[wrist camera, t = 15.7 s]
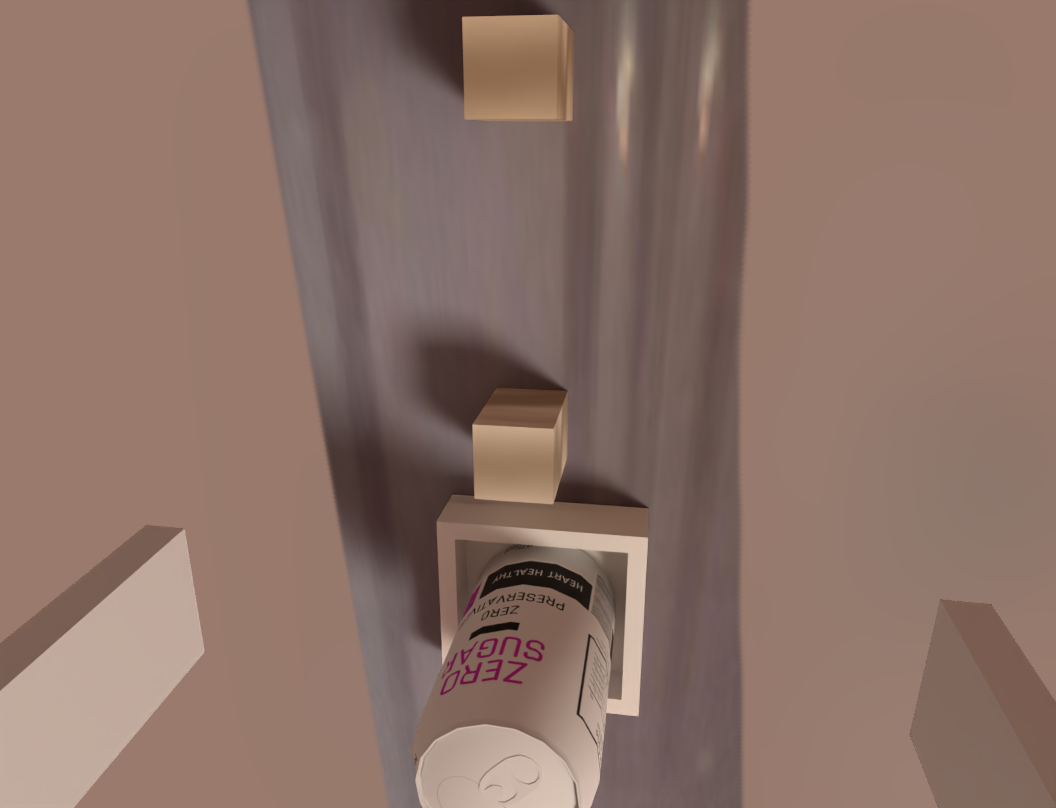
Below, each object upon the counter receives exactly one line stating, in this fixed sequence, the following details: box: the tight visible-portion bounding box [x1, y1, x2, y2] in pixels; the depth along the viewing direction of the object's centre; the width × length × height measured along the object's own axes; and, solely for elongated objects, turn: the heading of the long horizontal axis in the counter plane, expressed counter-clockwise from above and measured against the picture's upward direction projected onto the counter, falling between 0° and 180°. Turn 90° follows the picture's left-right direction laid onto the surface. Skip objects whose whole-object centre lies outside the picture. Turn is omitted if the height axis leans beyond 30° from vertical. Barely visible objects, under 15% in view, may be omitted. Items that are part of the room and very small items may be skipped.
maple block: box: [462, 15, 574, 121], centre depth 36 cm, size 4×4×6 cm
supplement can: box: [412, 544, 616, 808], centre depth 40 cm, size 8×8×15 cm
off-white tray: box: [436, 494, 649, 716], centre depth 46 cm, size 12×12×4 cm
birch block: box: [472, 388, 568, 504], centre depth 42 cm, size 4×4×6 cm
